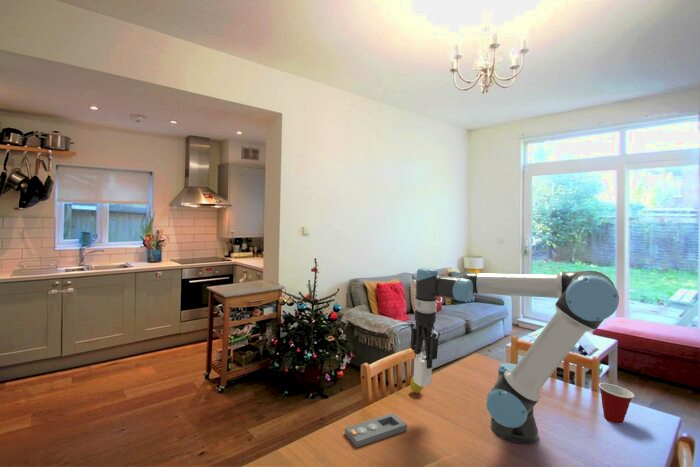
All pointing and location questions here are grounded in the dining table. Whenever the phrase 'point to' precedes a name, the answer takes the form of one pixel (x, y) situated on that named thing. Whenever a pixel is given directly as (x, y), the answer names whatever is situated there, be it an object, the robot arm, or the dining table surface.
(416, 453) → the dining table surface
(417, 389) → the lemon
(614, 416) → the plastic cup
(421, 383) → the block
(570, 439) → the dining table surface
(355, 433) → the power strip
